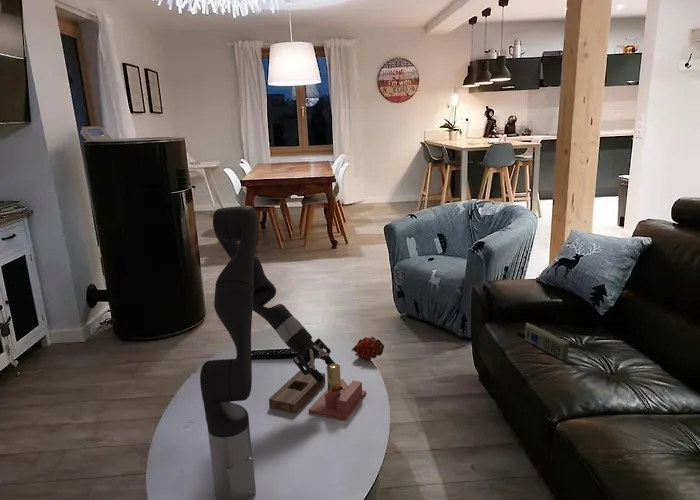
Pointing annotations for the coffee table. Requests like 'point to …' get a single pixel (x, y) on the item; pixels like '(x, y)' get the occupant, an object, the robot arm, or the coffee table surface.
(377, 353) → the dragon fruit
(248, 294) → the robot arm
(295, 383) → the brown flat block
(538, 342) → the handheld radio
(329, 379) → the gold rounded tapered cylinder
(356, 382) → the V-block
